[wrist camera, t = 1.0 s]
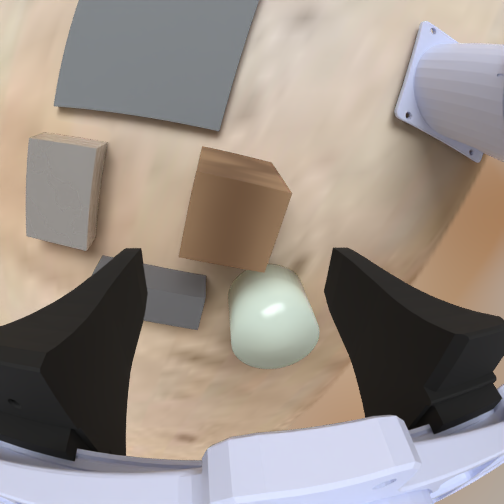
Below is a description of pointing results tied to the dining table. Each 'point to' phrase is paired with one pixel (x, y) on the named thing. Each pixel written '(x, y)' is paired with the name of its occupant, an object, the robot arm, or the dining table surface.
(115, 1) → the slate coaster
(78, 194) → the grey topped wooden block
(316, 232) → the dining table surface
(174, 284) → the charcoal rubber bar
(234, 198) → the walnut block
